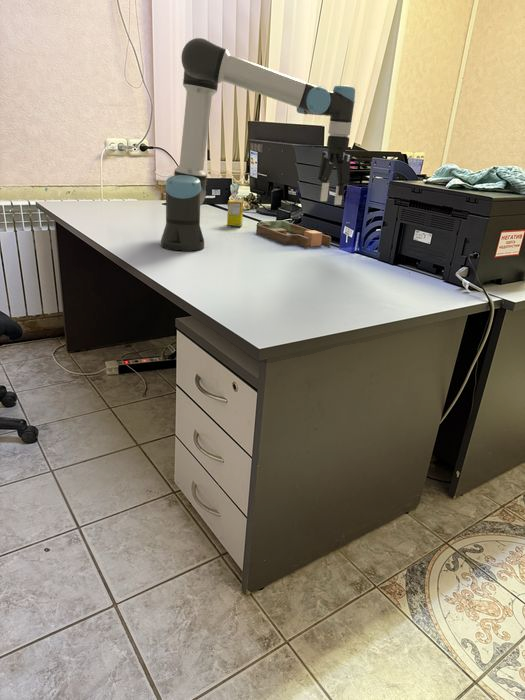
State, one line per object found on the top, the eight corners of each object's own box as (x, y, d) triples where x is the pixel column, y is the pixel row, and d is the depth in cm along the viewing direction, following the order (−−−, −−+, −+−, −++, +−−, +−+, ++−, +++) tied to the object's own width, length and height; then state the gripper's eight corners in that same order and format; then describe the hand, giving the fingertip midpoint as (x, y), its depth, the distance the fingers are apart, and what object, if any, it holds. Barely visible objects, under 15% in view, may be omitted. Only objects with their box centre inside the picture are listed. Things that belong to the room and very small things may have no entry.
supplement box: (242, 225, 223) (243, 200, 219) (240, 228, 218) (241, 202, 213) (229, 224, 224) (230, 199, 219) (226, 226, 218) (227, 200, 214)
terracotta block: (310, 246, 195) (312, 233, 193) (303, 243, 198) (304, 230, 196) (320, 245, 197) (322, 232, 195) (313, 242, 201) (314, 230, 199)
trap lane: (294, 248, 189) (295, 238, 188) (248, 229, 215) (248, 221, 214) (330, 245, 198) (331, 236, 196) (281, 228, 224) (282, 220, 222)
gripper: (366, 138, 170) (356, 207, 179) (329, 134, 185) (321, 198, 194) (349, 136, 166) (340, 207, 175) (312, 133, 181) (305, 198, 191)
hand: (330, 202), depth 185 cm, fingers open, 8 cm apart
